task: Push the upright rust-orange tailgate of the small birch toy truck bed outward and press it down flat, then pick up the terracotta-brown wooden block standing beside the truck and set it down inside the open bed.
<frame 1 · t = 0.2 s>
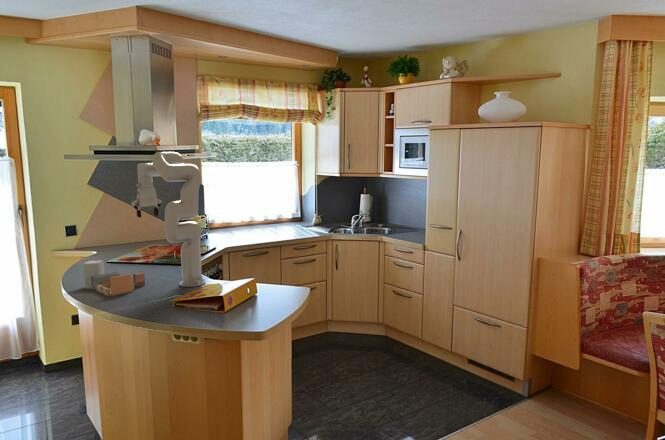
hand: (147, 216, 279), 31 cm above the countertop, tool pointing down, fingers open, 9 cm apart
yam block: (139, 287, 247), on the countertop
supplement box: (95, 287, 250), on the countertop
tailgate: (121, 285, 232), point 5 cm above the countertop, hinge at 0.0°
truck bed: (115, 292, 238), on the countertop
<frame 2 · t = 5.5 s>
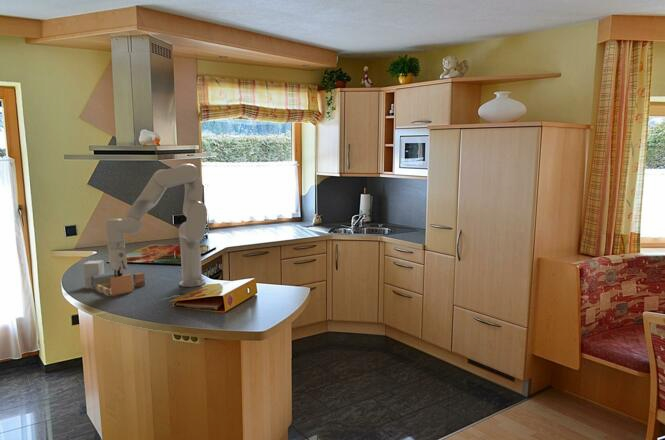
hand: (119, 283, 234), 5 cm above the countertop, tool pointing down, fingers closed
tailgate: (121, 285, 232), point 5 cm above the countertop, hinge at 2.7°, touching gripper
everything else where it was.
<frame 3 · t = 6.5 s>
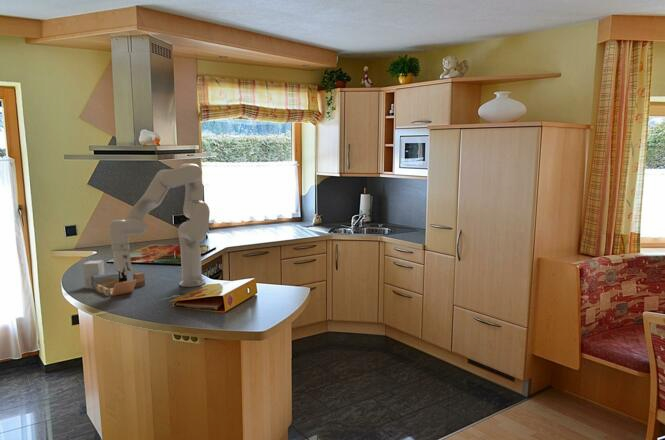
hand: (123, 285, 231), 5 cm above the countertop, tool pointing down, fingers closed
tailgate: (123, 288, 230), point 4 cm above the countertop, hinge at 39.8°, touching gripper
everything else where it was.
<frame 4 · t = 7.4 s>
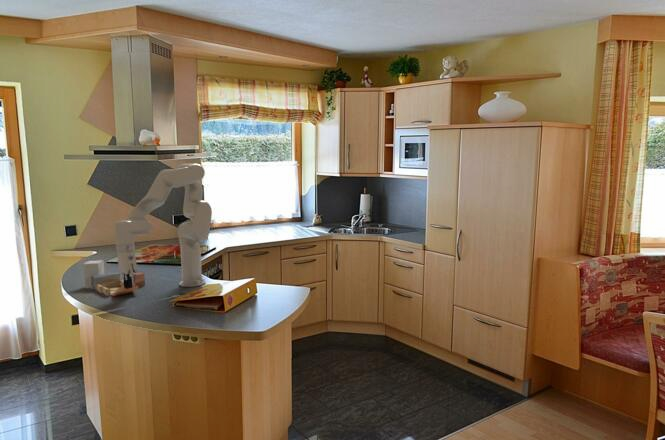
hand: (128, 287, 226), 5 cm above the countertop, tool pointing down, fingers closed
tailgate: (125, 291, 230), point 3 cm above the countertop, hinge at 64.0°, touching gripper
everything else where it was.
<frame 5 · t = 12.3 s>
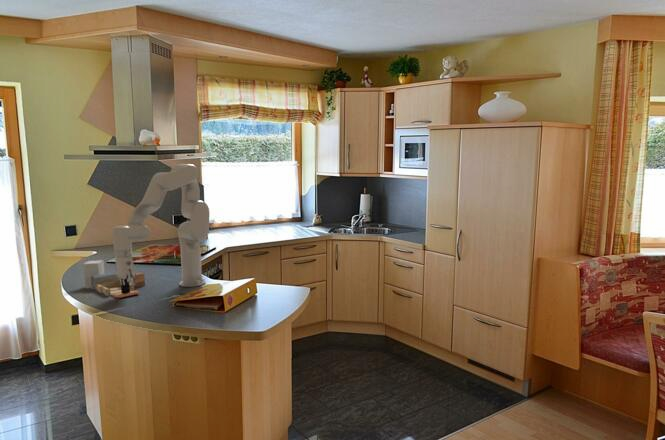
hand: (125, 292, 228), 2 cm above the countertop, tool pointing down, fingers closed
tailgate: (125, 294, 230), point 2 cm above the countertop, hinge at 81.9°
everything else where it was.
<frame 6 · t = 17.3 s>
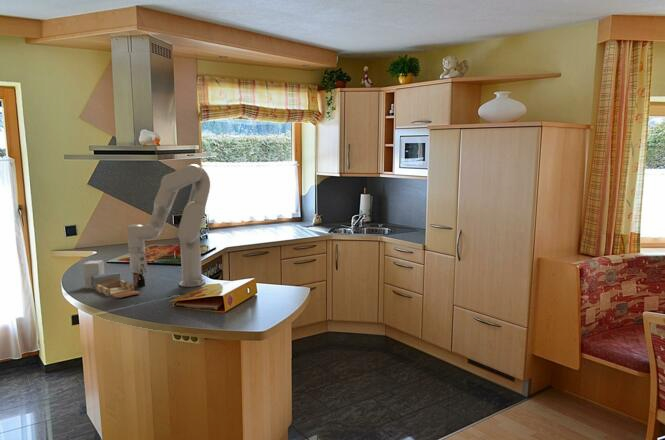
hand: (139, 285, 247), 1 cm above the countertop, tool pointing down, fingers closed on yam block, 4 cm apart
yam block: (139, 287, 247), on the countertop, touching gripper
everything else where it was.
when the fingers open (3 cm above the countertop, at t = 22.4 s): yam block drops 1 cm, resting on truck bed.
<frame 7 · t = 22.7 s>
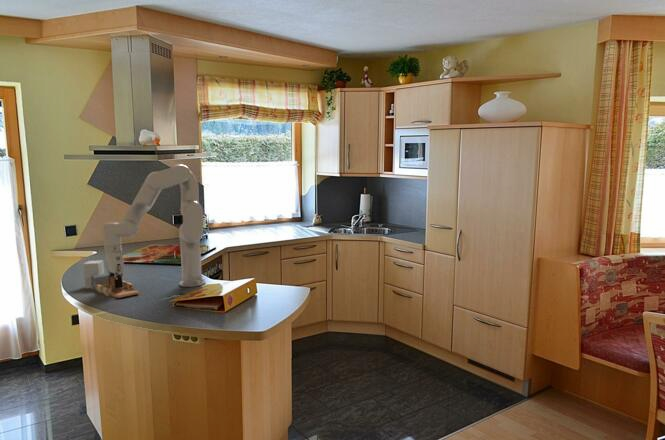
hand: (116, 285, 237), 4 cm above the countertop, tool pointing down, fingers open, 6 cm apart
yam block: (116, 291, 237), point 1 cm above the countertop, touching truck bed
everything else where it was.
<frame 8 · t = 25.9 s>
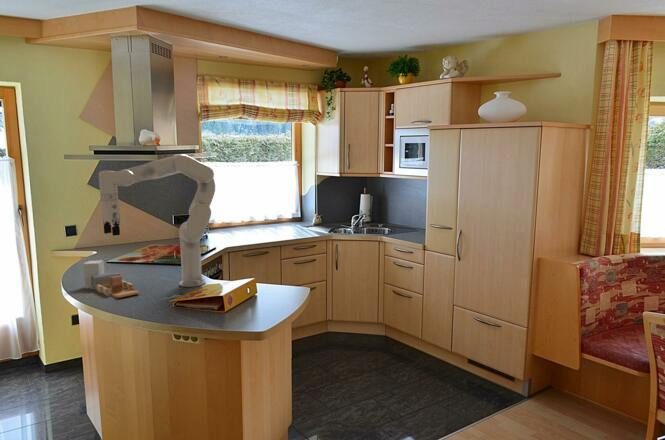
hand: (112, 234, 233), 28 cm above the countertop, tool pointing down, fingers open, 9 cm apart
nothing on the countertop moved.
at the end: tailgate at +82° (first picture: +0°); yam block inside the target area on the truck bed (1.5 cm from its centre), point 1.0 cm above the truck bed's base; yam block tilted 0° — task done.
